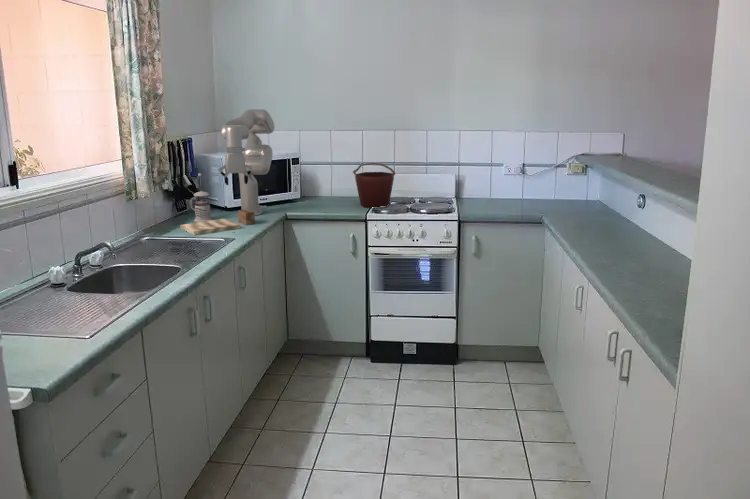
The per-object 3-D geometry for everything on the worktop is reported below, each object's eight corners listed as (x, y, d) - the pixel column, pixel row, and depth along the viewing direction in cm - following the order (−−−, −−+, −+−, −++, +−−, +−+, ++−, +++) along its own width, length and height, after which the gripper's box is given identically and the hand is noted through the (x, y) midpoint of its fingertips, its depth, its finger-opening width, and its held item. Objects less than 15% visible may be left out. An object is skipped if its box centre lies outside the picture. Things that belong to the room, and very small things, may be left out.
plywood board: (225, 222, 327) (224, 218, 327) (240, 228, 313) (240, 224, 313) (180, 228, 313) (180, 224, 313) (194, 235, 299) (193, 231, 299)
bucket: (348, 207, 364) (347, 164, 357) (363, 200, 384) (363, 160, 377) (387, 210, 355) (387, 166, 348) (400, 203, 374) (401, 161, 368)
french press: (207, 222, 328) (204, 174, 322) (187, 221, 330) (183, 174, 324) (216, 218, 337) (212, 172, 331) (196, 217, 340) (192, 171, 333)
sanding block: (247, 221, 330) (246, 209, 328) (255, 224, 323) (254, 212, 321) (238, 222, 327) (237, 210, 325) (246, 225, 320) (245, 213, 318)
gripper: (249, 149, 323) (251, 182, 327) (216, 150, 316) (218, 184, 320) (253, 150, 317) (254, 184, 321) (218, 151, 310) (221, 186, 314)
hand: (236, 184), depth 320 cm, fingers open, 9 cm apart
